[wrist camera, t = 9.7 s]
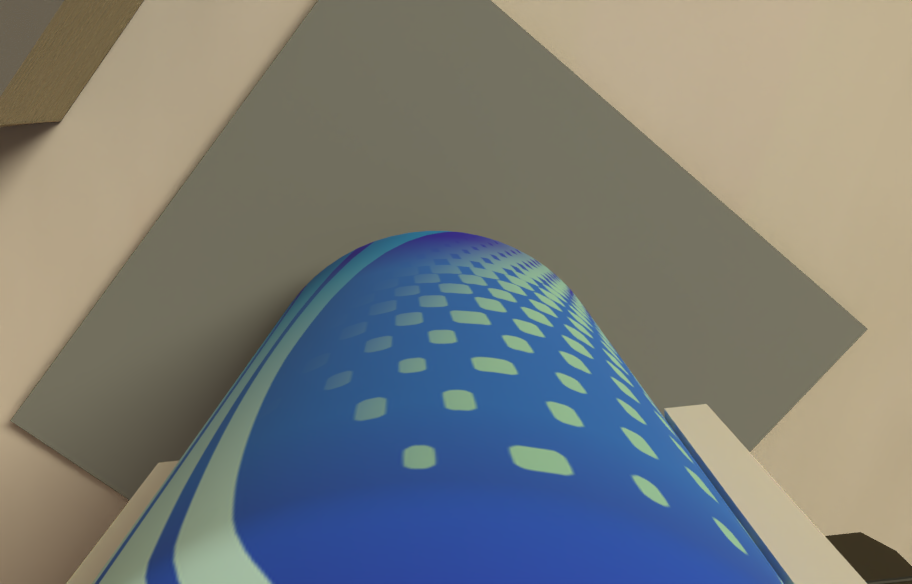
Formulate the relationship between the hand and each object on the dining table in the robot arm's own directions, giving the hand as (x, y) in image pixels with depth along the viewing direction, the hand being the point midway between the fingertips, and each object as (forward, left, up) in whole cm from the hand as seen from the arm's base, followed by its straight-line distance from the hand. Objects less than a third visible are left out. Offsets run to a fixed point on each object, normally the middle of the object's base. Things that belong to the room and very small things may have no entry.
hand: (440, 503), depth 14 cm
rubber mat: (0, 0, -7) cm, 7 cm away
